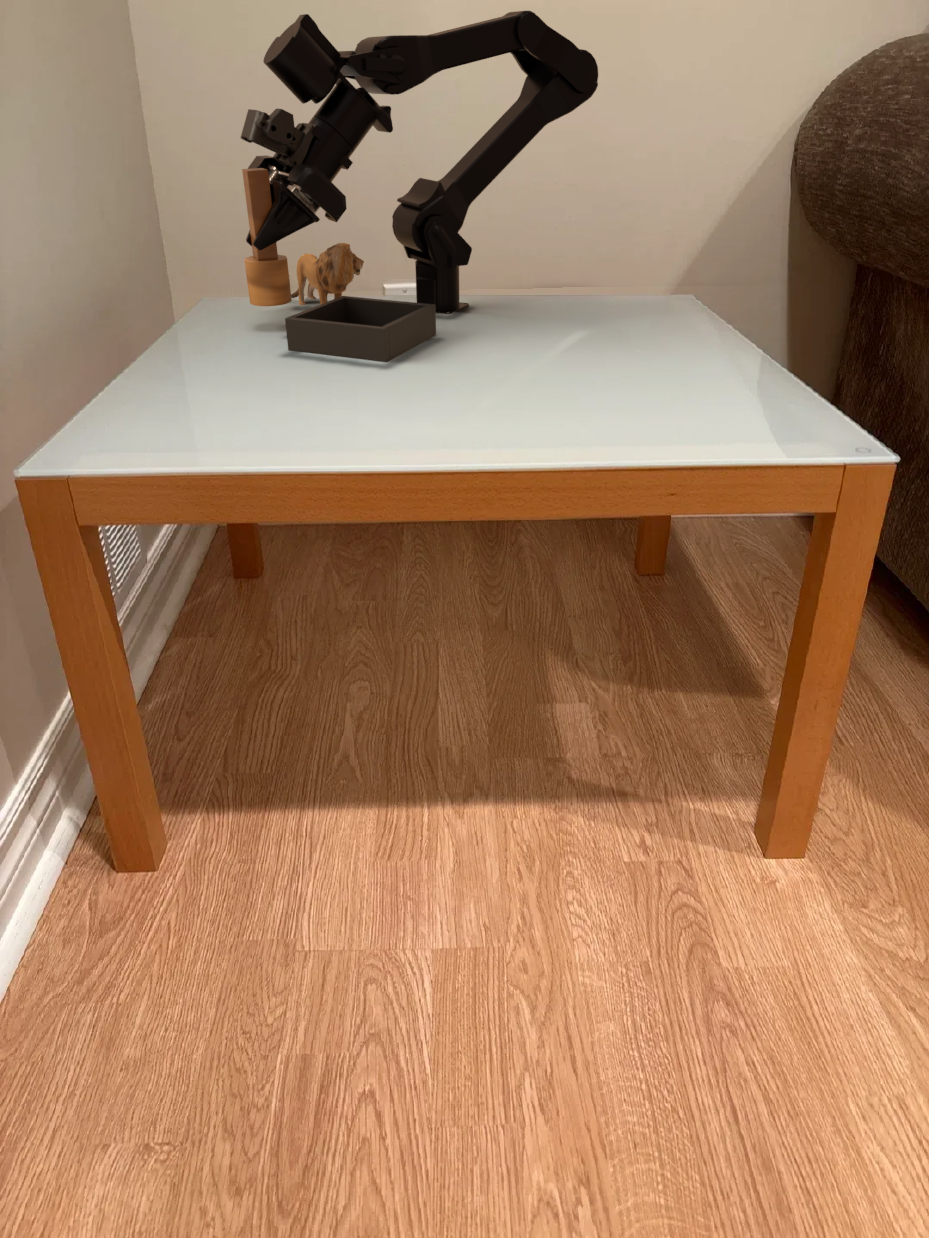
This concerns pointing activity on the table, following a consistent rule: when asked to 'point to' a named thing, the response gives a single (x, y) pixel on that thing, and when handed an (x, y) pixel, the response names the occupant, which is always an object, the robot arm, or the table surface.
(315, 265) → the lion figurine
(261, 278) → the wooden peg stand
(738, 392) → the table surface
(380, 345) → the box
